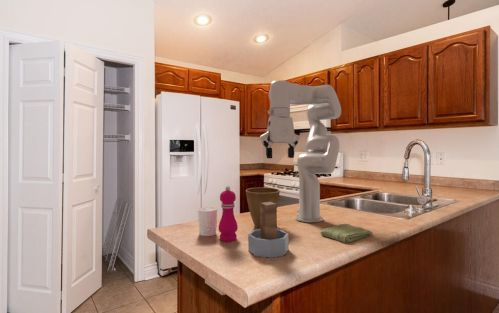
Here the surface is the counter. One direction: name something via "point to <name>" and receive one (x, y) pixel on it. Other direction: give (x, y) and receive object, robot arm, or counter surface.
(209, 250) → the counter surface
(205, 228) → the white cup
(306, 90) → the robot arm
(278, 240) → the grey pet bowl
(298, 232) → the counter surface
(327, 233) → the washcloth
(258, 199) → the plant pot
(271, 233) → the brown wooden block
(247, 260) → the counter surface
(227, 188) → the pepper mill
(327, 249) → the counter surface
